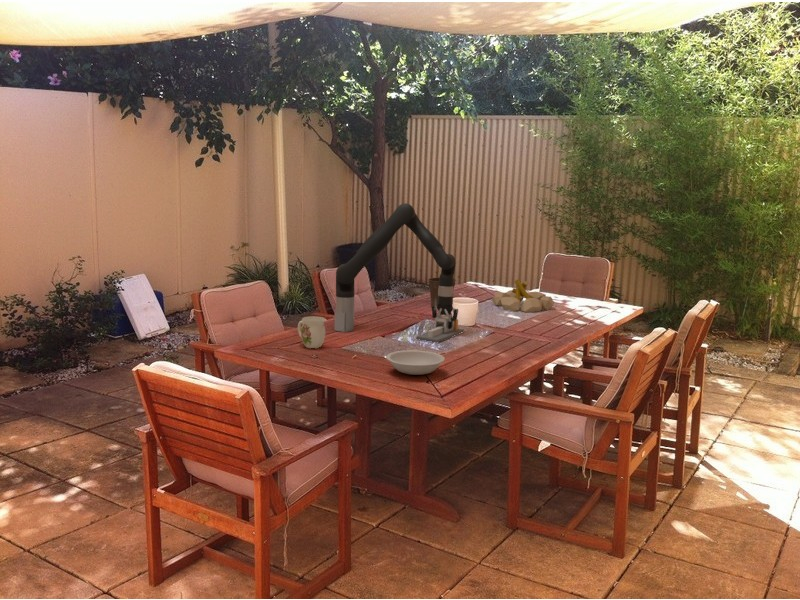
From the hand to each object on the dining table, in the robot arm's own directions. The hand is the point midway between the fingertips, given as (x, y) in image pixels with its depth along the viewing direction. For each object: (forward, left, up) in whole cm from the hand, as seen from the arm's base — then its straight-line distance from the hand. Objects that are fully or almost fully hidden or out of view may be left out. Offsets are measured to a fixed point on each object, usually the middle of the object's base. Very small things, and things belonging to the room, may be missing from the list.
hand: (444, 327), depth 390 cm
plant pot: (+64, +35, -4) cm, 73 cm away
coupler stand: (-4, 0, -3) cm, 5 cm away
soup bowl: (-69, -22, -4) cm, 72 cm away
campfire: (+94, -5, -4) cm, 94 cm away
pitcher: (-59, +38, -4) cm, 70 cm away
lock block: (0, 0, -2) cm, 2 cm away
